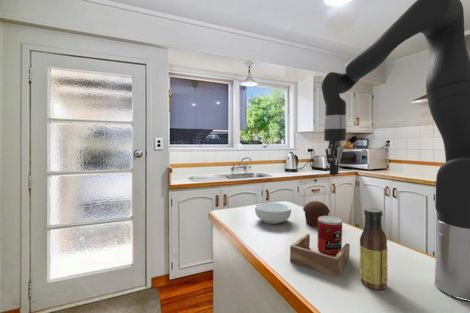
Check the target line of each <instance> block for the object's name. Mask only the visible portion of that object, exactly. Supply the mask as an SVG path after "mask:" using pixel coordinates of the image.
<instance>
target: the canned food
mask: <svg viewBox="0 0 470 313" xmlns="http://www.w3.org/2000/svg"><path fill="white" fill-rule="evenodd" d="M342 241H343V219H341V218H340V217H337V216H333V215H328V216H320V217H319V218H318V227H317V249H318V251H319V253H322V254H325V255H329V256H332V257H335V256H336V255H337V254H338V253H339V251H340V250H341V249H342V248H343V247H342V244H343V242H342Z"/></svg>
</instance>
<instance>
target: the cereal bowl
mask: <svg viewBox="0 0 470 313" xmlns="http://www.w3.org/2000/svg"><path fill="white" fill-rule="evenodd" d="M254 210H255V211H254V212H255V216H256V217H257V218H258V219H260V220H261V221H264V223H266V224H268V225H278V224H281V223H283V222H286V221H288V220H289V219H290V217H291V215H292V214H291V213H292V208H291V206H290V205H287V204H286V203H285V204H283V203H279V202H263V203H258V204H255V207H254Z"/></svg>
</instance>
